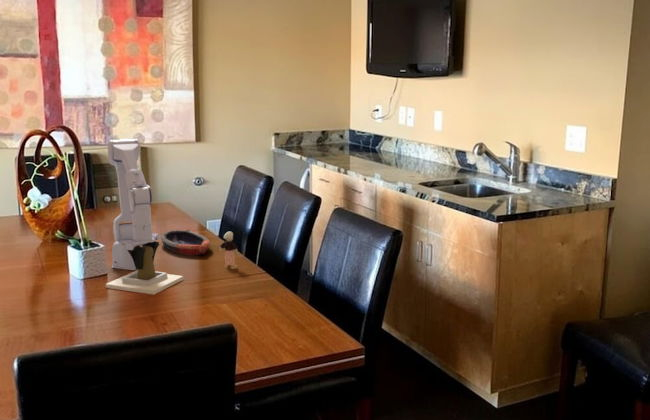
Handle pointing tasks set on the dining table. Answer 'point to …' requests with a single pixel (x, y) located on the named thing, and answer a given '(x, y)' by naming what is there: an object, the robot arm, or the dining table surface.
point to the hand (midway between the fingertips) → (144, 266)
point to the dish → (185, 242)
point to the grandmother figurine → (229, 250)
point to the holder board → (145, 282)
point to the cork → (147, 265)
